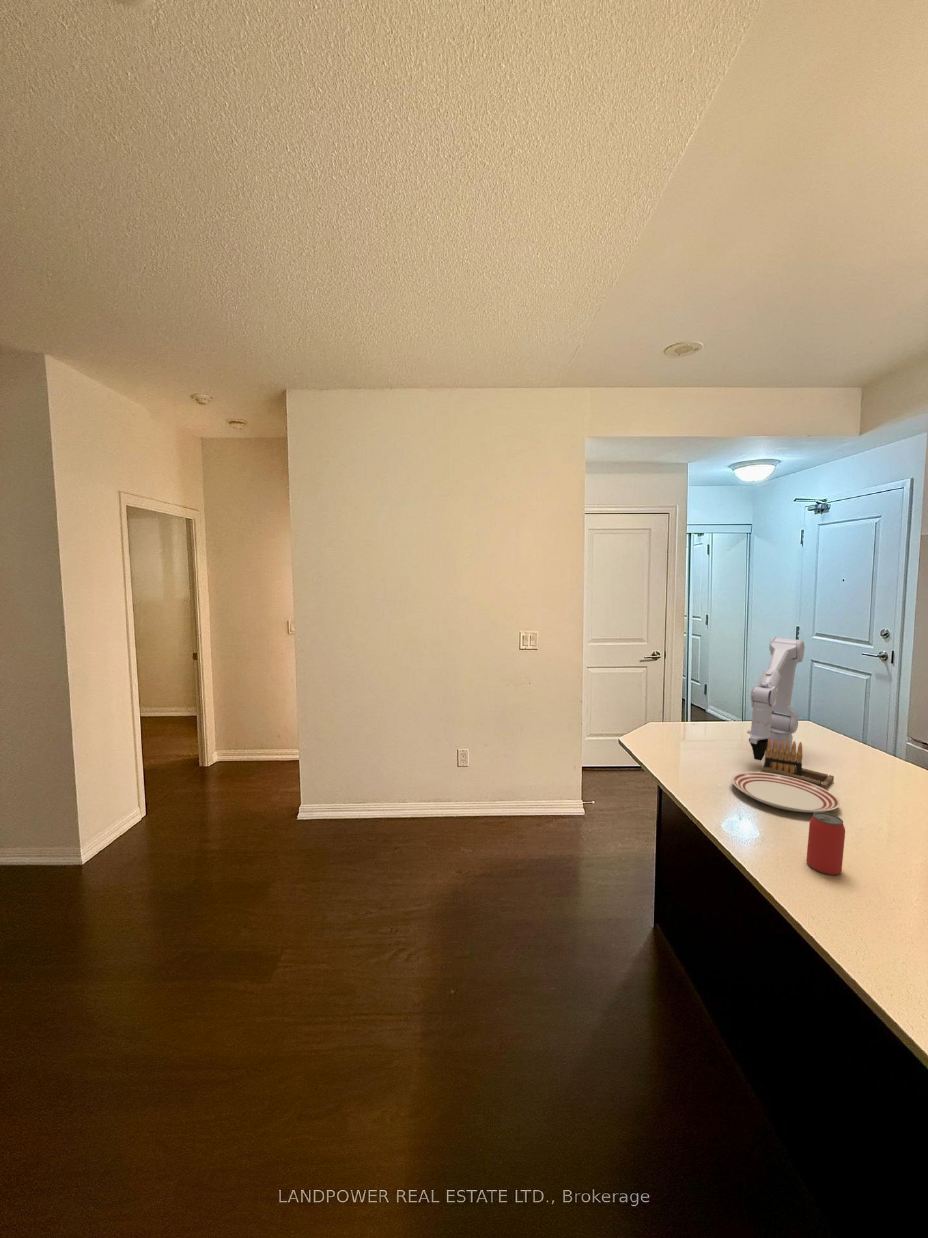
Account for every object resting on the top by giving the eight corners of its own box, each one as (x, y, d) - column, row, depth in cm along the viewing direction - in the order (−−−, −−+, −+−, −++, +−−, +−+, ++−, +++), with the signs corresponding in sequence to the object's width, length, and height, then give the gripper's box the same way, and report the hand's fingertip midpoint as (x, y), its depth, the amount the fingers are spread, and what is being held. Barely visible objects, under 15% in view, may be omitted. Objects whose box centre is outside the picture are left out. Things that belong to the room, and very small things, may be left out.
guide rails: (772, 765, 173) (772, 760, 173) (833, 782, 160) (833, 776, 160) (762, 774, 166) (762, 768, 165) (825, 791, 153) (825, 785, 152)
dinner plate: (745, 772, 167) (746, 763, 167) (846, 800, 148) (847, 789, 148) (718, 797, 148) (719, 787, 147) (830, 832, 128) (831, 820, 128)
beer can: (799, 859, 115) (803, 811, 114) (825, 859, 116) (829, 810, 115) (821, 877, 109) (826, 825, 108) (849, 876, 109) (854, 824, 108)
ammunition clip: (800, 776, 164) (803, 741, 163) (801, 778, 163) (804, 743, 162) (763, 770, 169) (766, 736, 168) (763, 771, 167) (766, 737, 166)
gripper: (755, 714, 178) (752, 751, 179) (741, 722, 168) (738, 760, 169) (777, 719, 172) (774, 756, 174) (764, 727, 163) (761, 767, 164)
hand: (758, 759), depth 171 cm, fingers closed
